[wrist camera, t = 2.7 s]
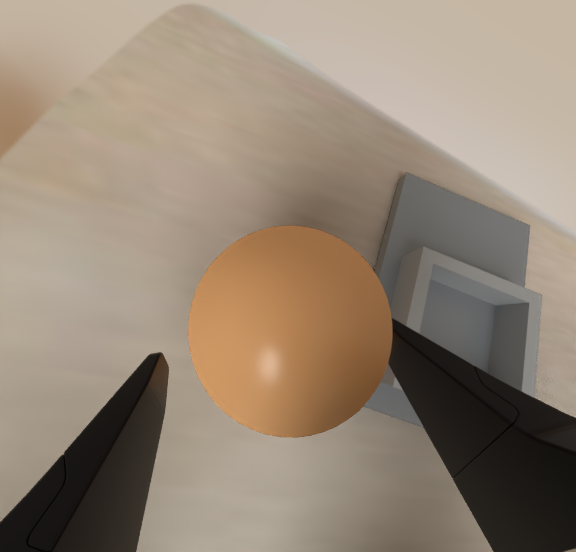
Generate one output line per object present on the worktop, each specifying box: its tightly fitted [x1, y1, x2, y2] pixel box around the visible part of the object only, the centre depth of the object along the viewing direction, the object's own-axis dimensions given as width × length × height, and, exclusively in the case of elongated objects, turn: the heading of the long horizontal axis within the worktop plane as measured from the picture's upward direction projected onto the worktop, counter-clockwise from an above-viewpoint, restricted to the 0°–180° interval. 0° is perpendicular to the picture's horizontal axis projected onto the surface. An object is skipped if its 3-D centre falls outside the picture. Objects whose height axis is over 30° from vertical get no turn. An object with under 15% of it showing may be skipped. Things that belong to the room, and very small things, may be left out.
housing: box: [364, 173, 542, 428], centre depth 19 cm, size 20×13×4 cm, turn 160°
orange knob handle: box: [188, 226, 392, 438], centre depth 12 cm, size 6×6×13 cm
